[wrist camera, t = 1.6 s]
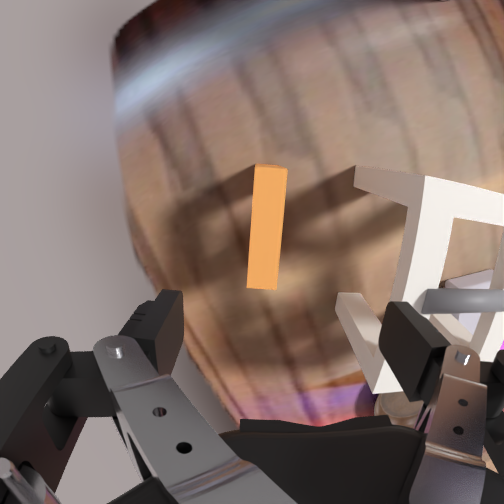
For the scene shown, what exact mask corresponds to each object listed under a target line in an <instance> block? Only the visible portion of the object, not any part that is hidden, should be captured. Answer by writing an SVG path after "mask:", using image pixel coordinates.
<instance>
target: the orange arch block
mask: <svg viewBox="0 0 504 504" xmlns="http://www.w3.org/2000/svg"><path fill="white" fill-rule="evenodd" d="M287 170H288V169H286V168H283V167H281V166H279V165H267V164H256V165H255V174H254V188H253V203H252V217H251V232H250V246H249V261H248V276H247V288H256V289H272V290H276V288H277V278H278V269H279V259H280V248H281V238H282V227H283V217H284V205H285V194H286V182H287Z"/></svg>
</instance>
